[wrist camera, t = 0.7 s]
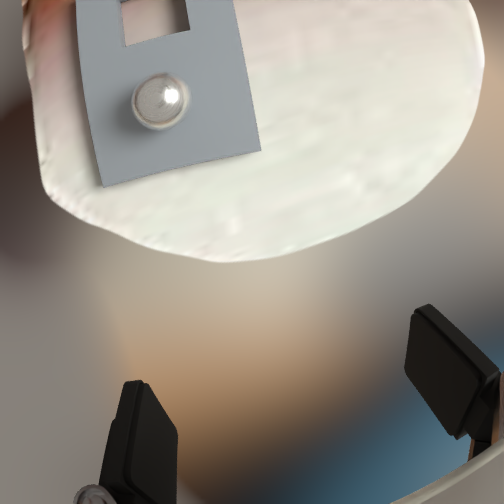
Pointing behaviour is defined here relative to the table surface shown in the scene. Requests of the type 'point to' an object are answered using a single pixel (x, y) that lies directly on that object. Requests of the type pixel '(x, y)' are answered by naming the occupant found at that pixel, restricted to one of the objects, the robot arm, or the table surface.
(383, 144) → the table surface
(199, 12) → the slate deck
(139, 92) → the steel ball
